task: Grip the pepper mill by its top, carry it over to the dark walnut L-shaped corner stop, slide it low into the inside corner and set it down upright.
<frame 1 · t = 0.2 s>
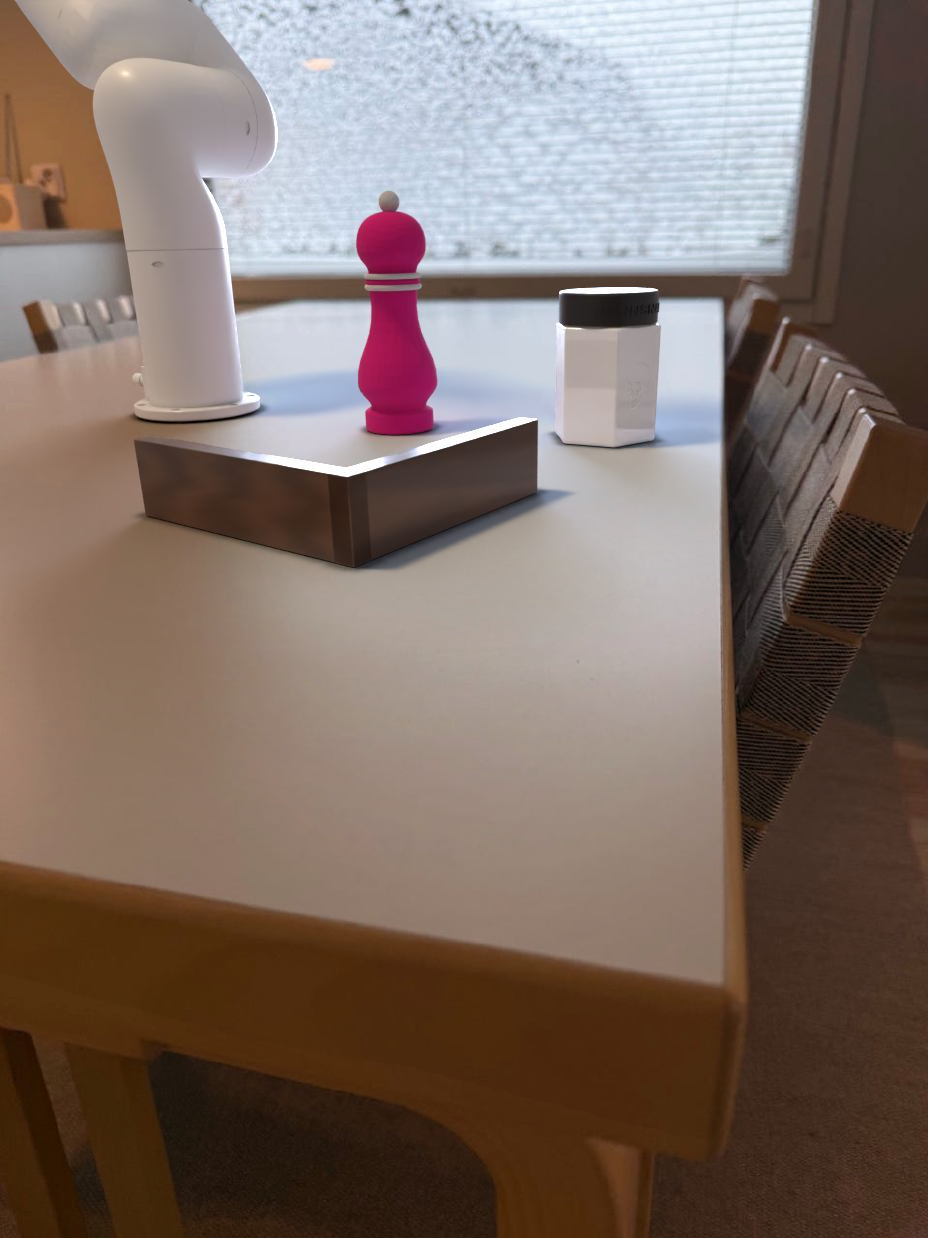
pepper mill: (400, 430, 86), on the table
corner stop: (352, 555, 52), on the table
jar: (603, 439, 80), on the table
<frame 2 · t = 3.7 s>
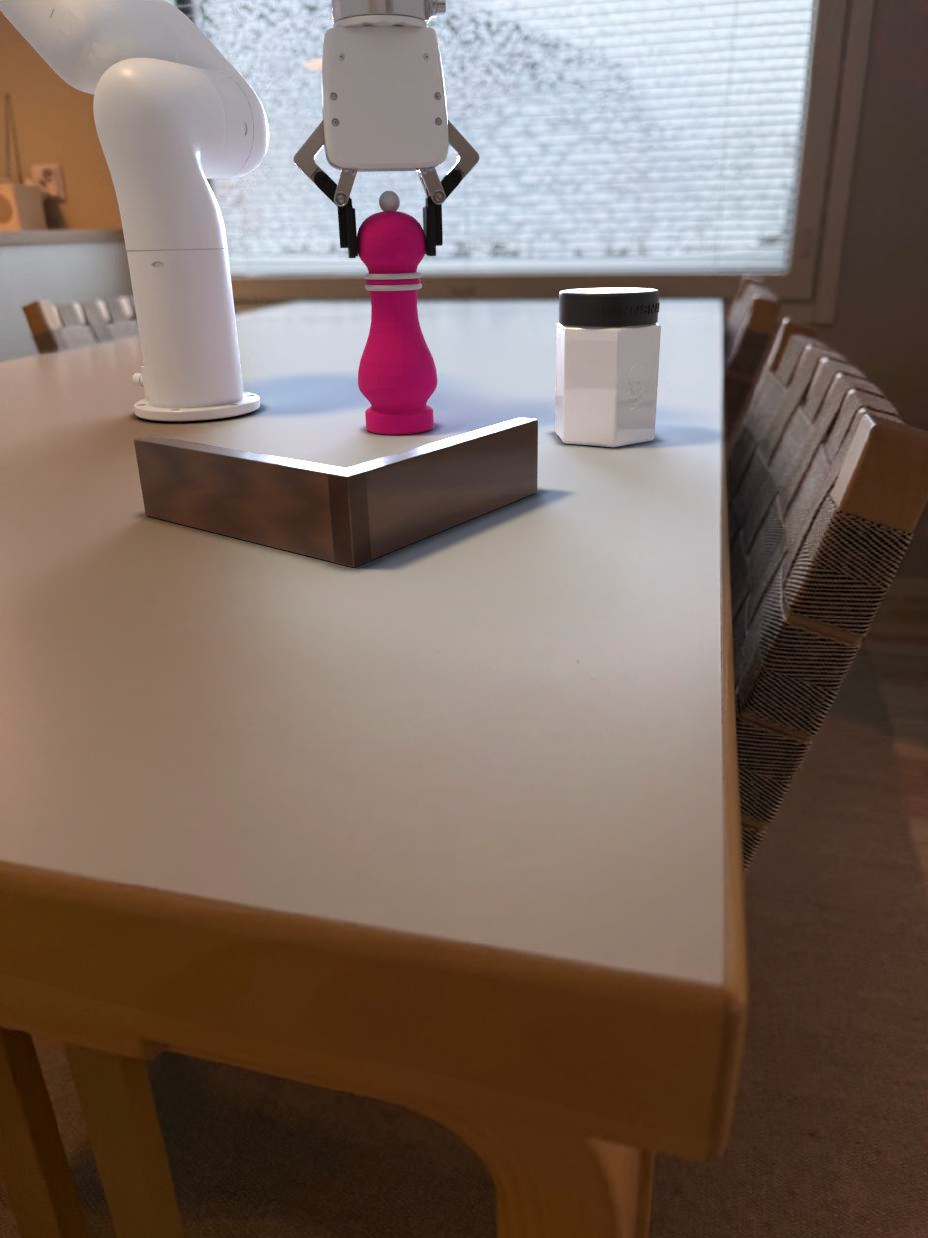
hand: (391, 254, 80), 15 cm above the table, tool pointing down, fingers closed on pepper mill, 6 cm apart
pepper mill: (400, 430, 86), on the table, touching gripper
everything else where it was.
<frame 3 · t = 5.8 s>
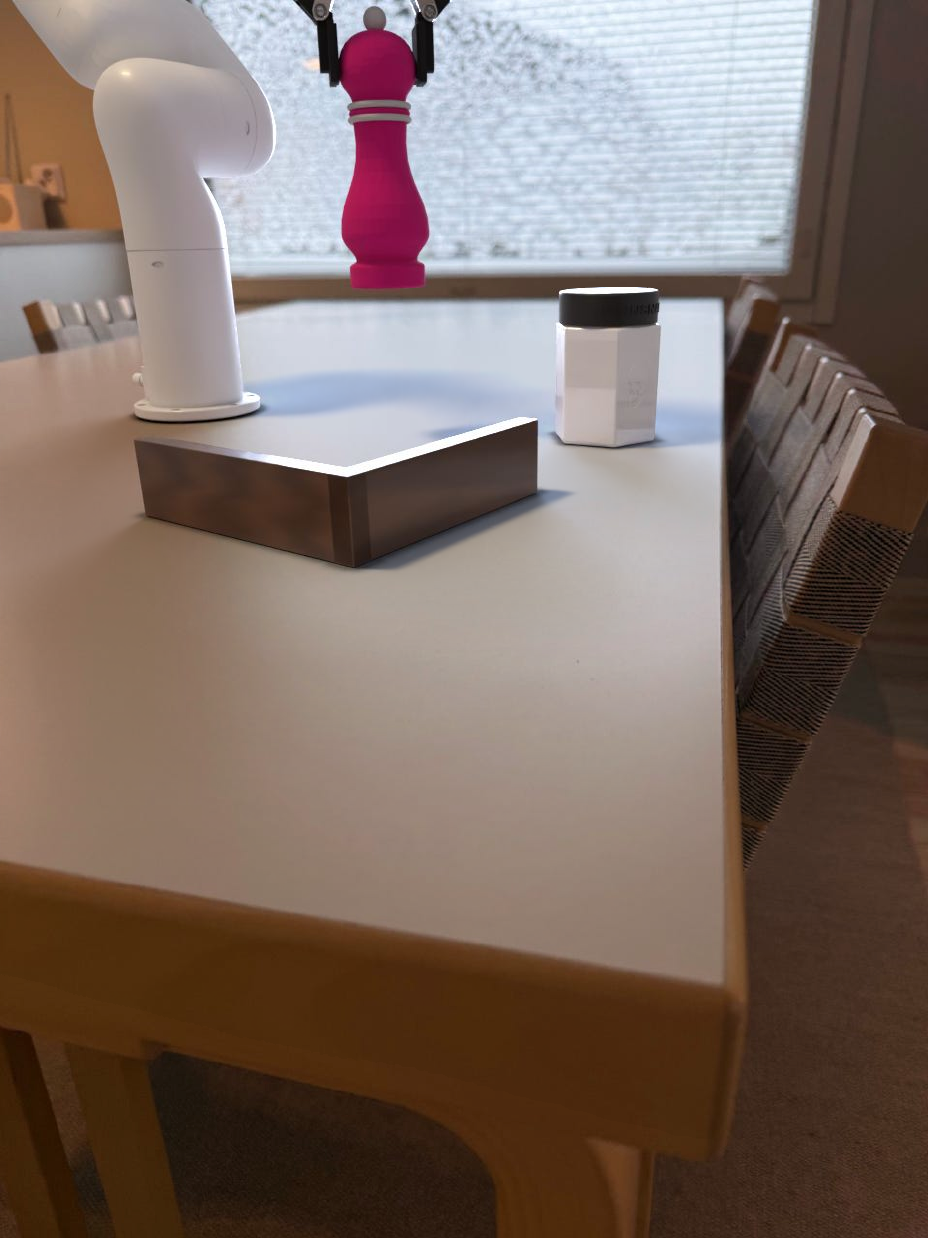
hand: (377, 81, 72), 28 cm above the table, tool pointing down, fingers closed on pepper mill, 6 cm apart
pepper mill: (388, 289, 77), point 12 cm above the table, touching gripper
everything else where it was.
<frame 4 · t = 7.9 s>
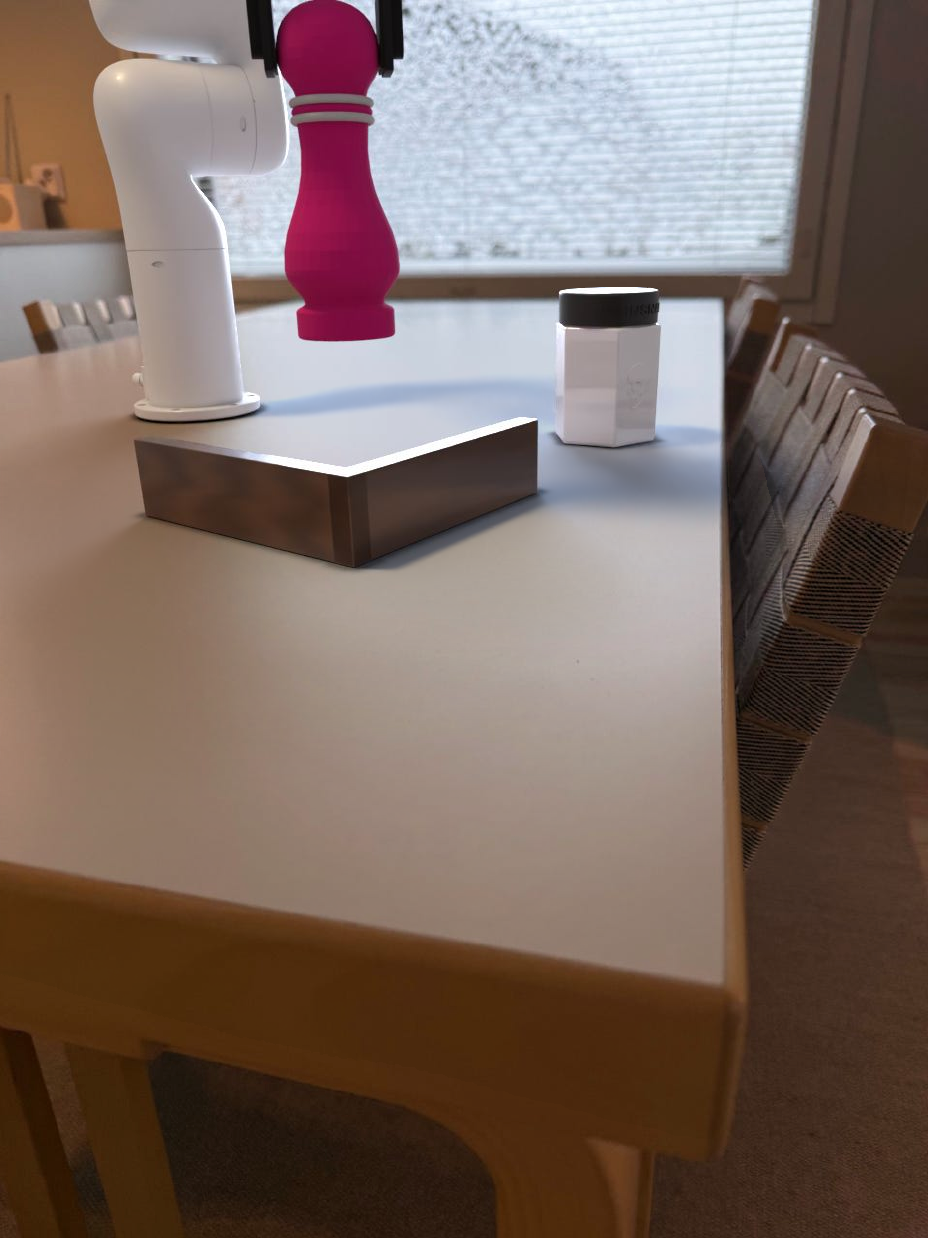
hand: (329, 70, 54), 25 cm above the table, tool pointing down, fingers closed on pepper mill, 6 cm apart
pepper mill: (347, 339, 60), point 10 cm above the table, touching gripper
everything else where it was.
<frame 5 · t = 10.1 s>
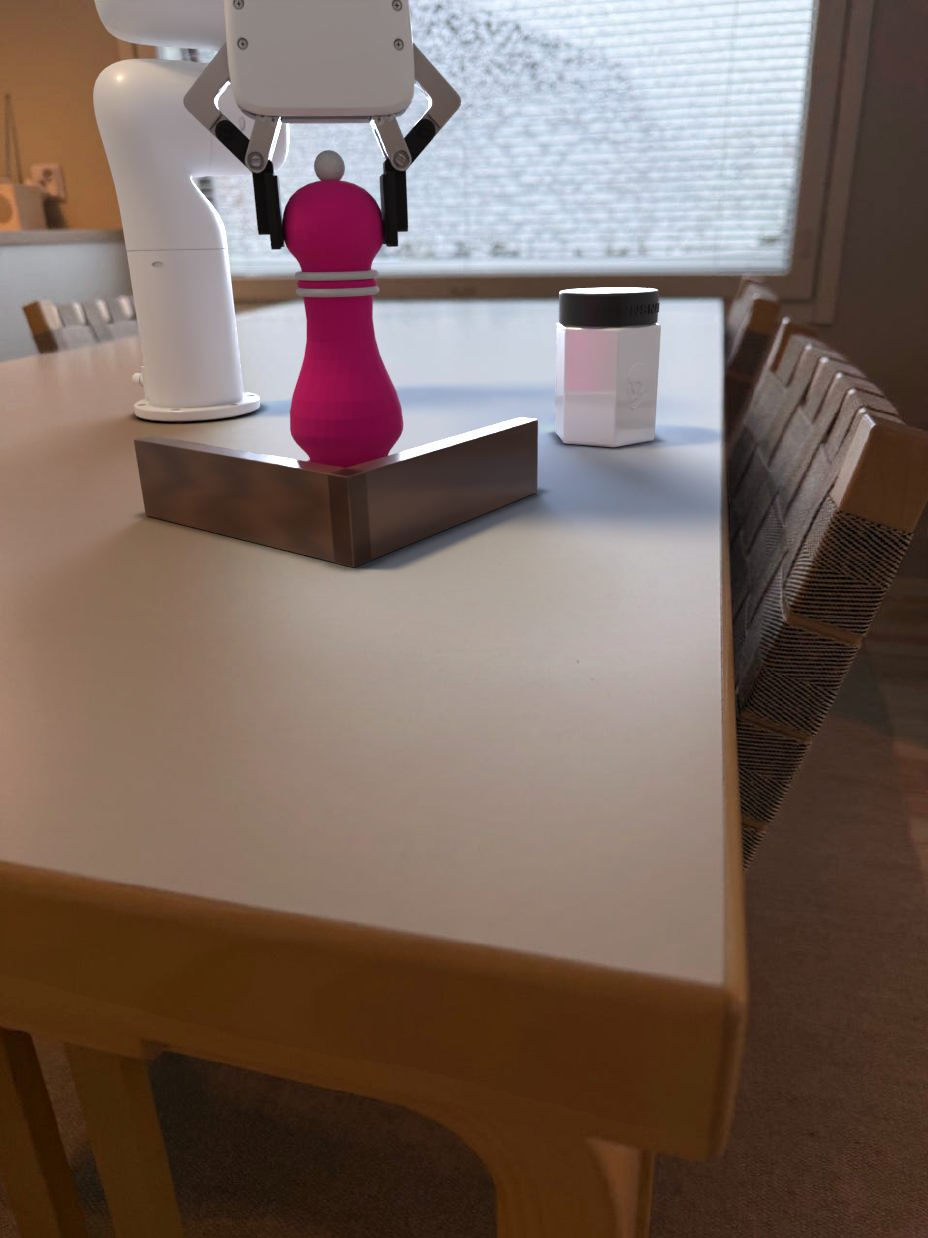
hand: (334, 244, 55), 16 cm above the table, tool pointing down, fingers closed on pepper mill, 6 cm apart
pepper mill: (351, 492, 61), point 1 cm above the table, touching gripper
everything else where it was.
when the fingers open (15 cm above the table, at t = 11.9 s): pepper mill stays where it is, on the table.
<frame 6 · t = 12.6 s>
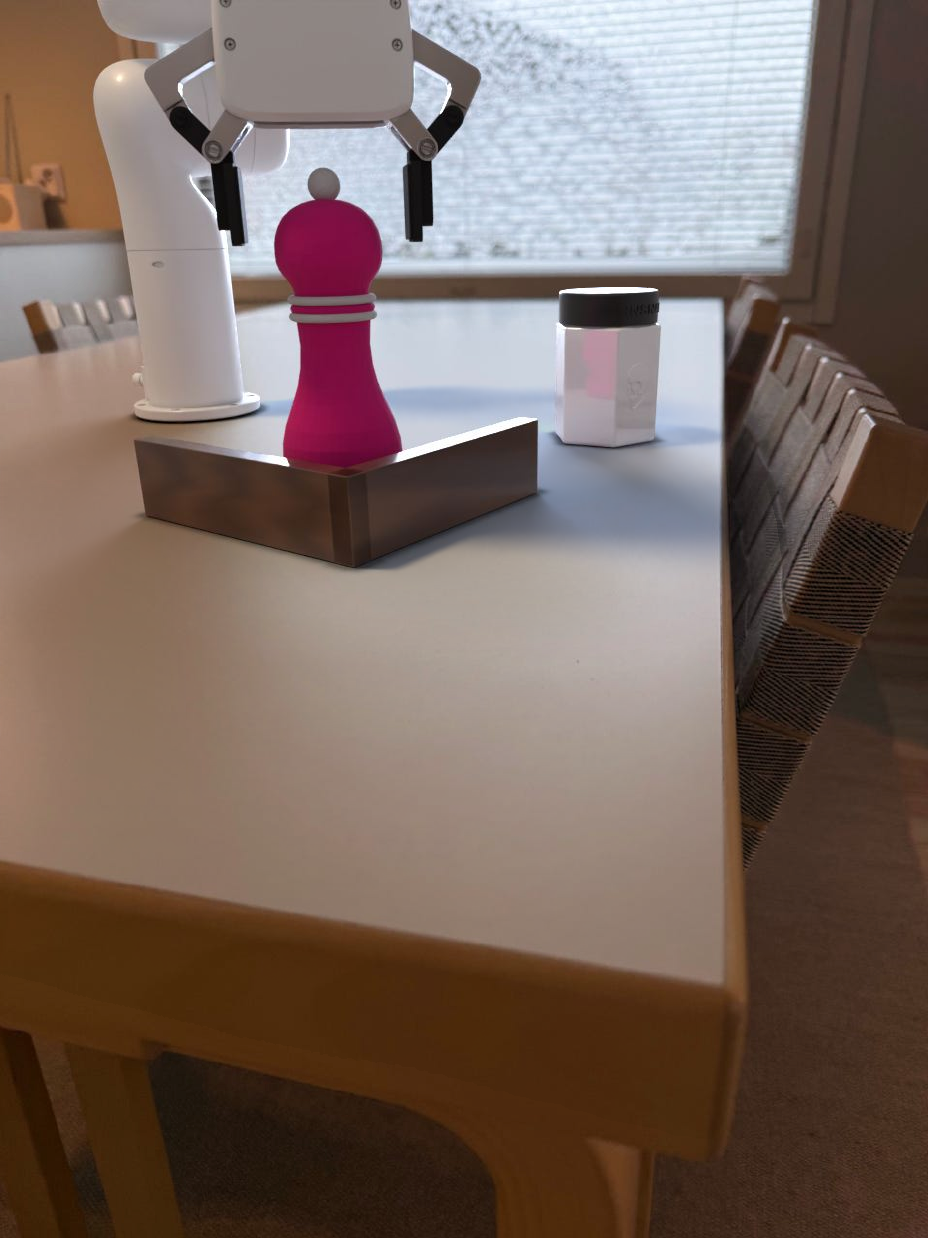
hand: (328, 243, 51), 16 cm above the table, tool pointing down, fingers open, 9 cm apart
pepper mill: (348, 526, 58), on the table
everything else where it was.
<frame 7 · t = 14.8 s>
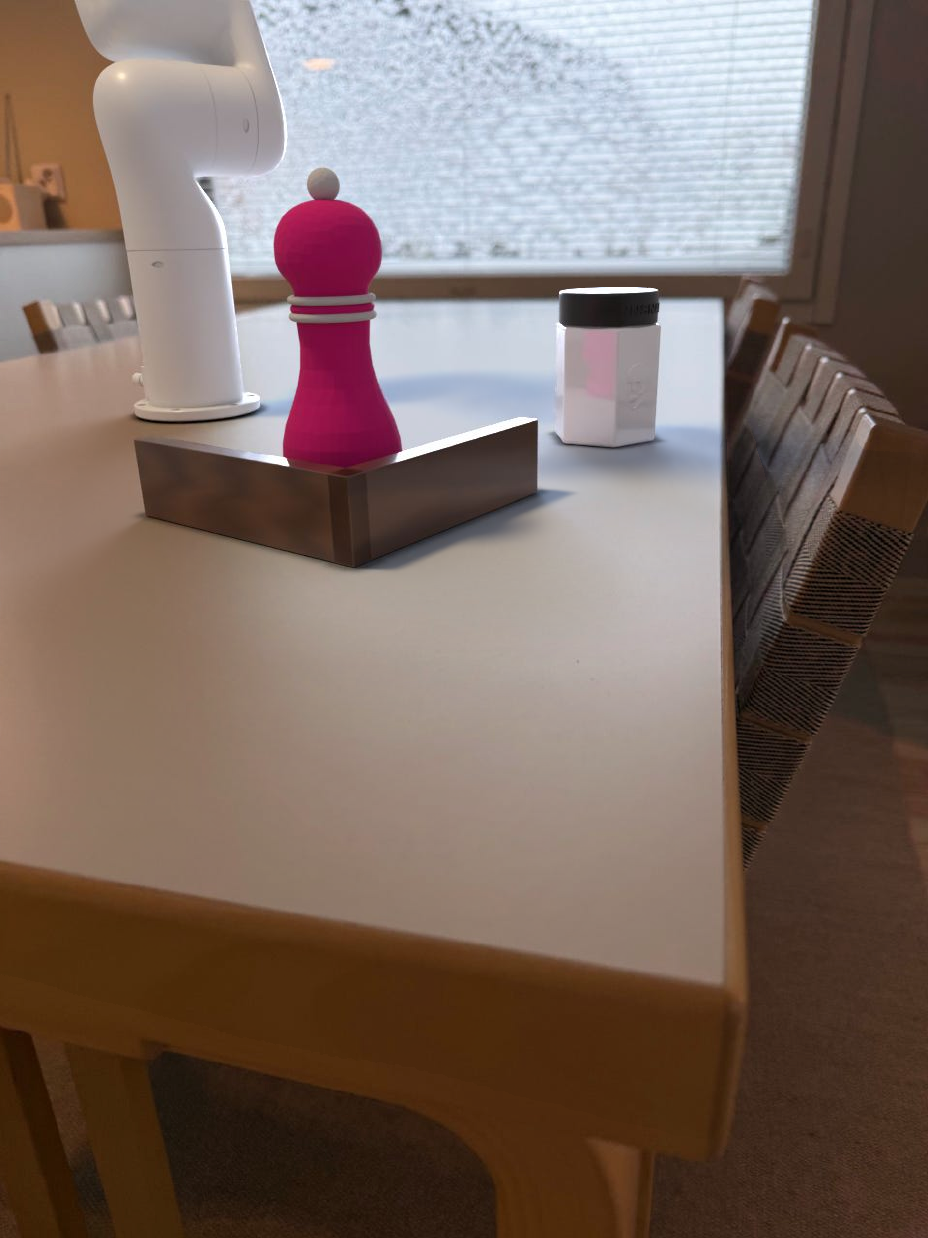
nothing on the table moved.
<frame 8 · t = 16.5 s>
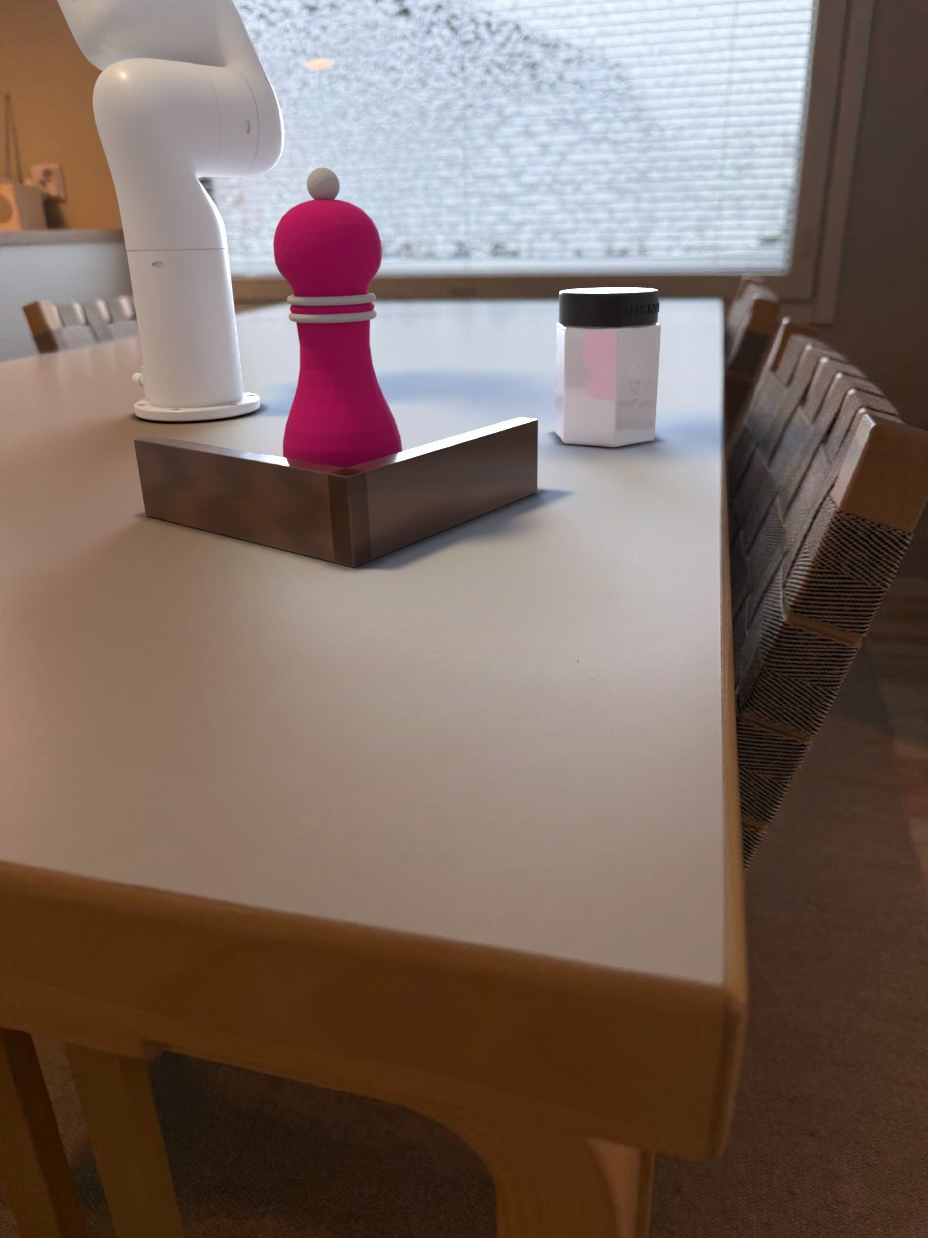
nothing on the table moved.
at the end: pepper mill 0.4 cm from the target spot on the corner stop, point 0.0 cm above the corner stop's base; pepper mill tilted 0° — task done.
